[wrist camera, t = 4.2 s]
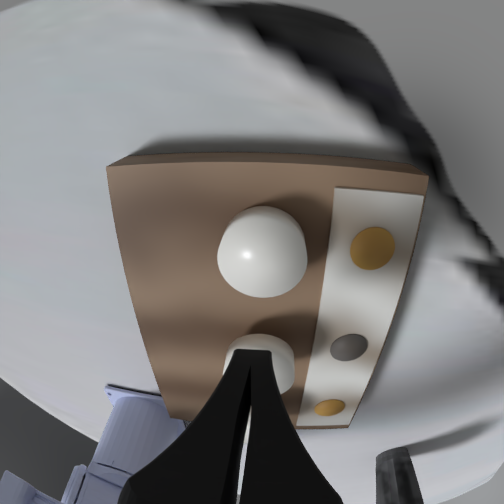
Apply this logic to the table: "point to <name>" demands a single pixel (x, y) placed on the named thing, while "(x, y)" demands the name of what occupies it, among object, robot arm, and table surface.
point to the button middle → (280, 356)
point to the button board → (272, 308)
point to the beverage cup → (396, 478)
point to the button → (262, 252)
